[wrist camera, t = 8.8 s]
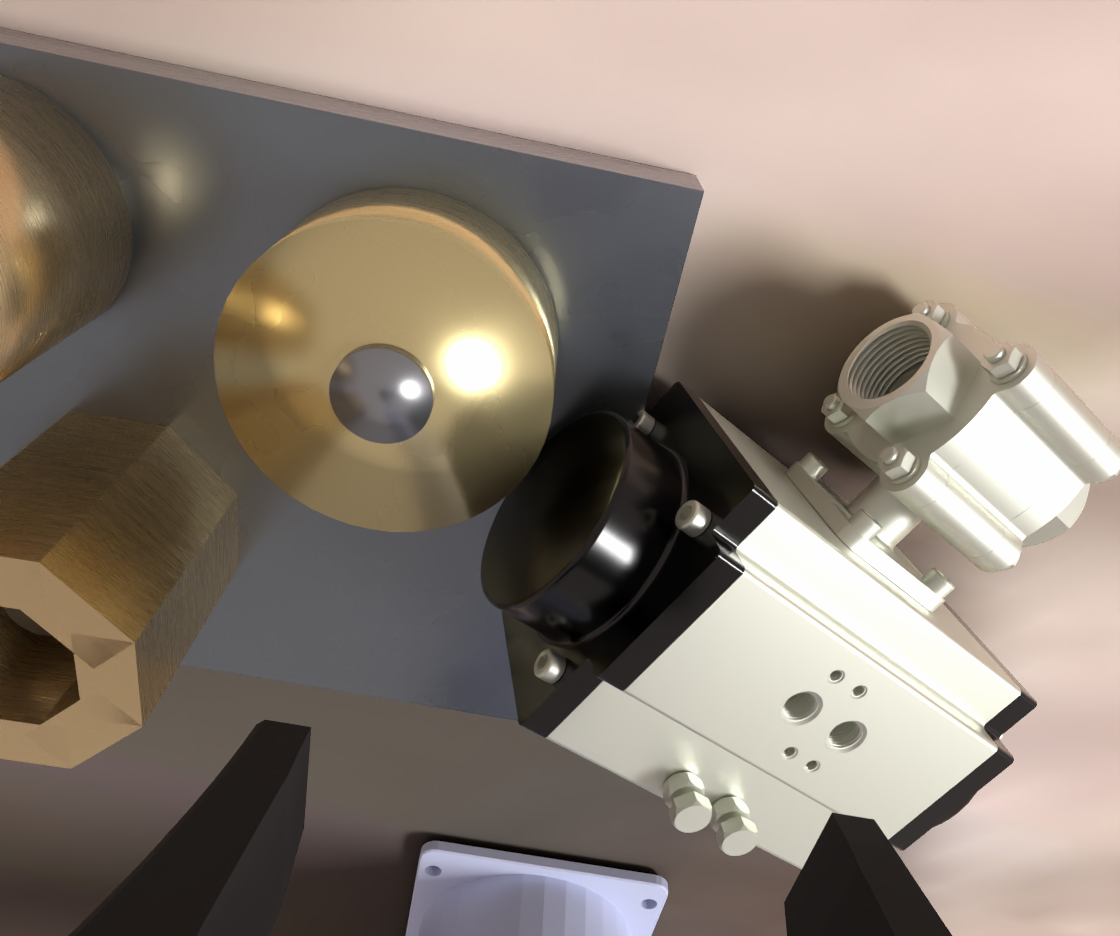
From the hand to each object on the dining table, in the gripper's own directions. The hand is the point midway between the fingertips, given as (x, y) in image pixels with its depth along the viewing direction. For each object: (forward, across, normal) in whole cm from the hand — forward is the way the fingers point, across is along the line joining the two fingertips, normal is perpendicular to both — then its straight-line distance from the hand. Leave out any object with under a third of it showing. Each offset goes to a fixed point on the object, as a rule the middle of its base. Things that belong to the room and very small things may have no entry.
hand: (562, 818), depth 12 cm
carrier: (+10, +7, 0) cm, 12 cm away
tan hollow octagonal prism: (+8, +10, +3) cm, 13 cm away
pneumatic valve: (+7, -8, -5) cm, 12 cm away
